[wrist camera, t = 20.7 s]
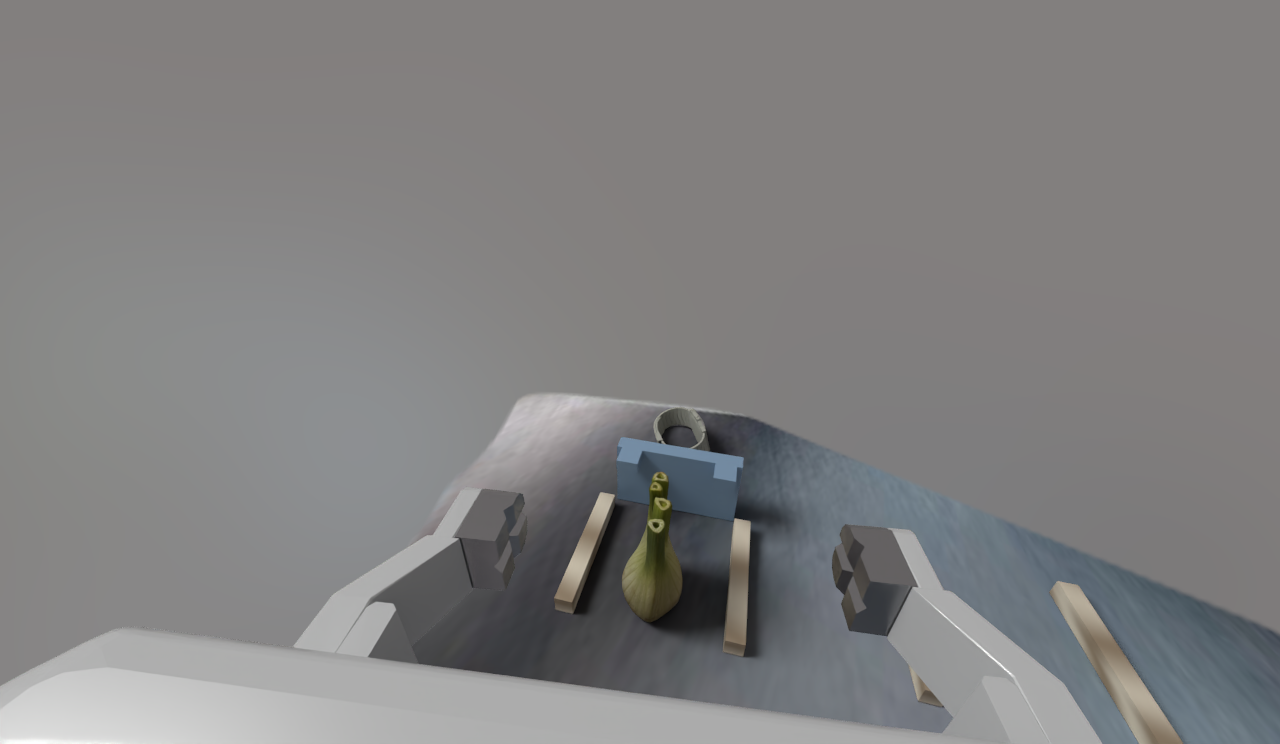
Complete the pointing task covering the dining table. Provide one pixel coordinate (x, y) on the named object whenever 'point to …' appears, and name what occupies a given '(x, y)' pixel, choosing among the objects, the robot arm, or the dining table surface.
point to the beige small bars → (1083, 620)
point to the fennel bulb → (654, 560)
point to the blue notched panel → (680, 477)
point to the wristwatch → (682, 418)
